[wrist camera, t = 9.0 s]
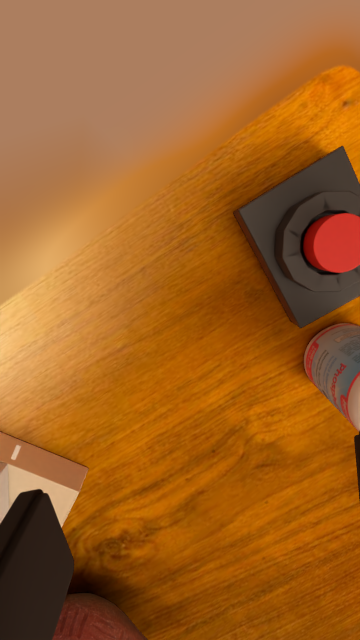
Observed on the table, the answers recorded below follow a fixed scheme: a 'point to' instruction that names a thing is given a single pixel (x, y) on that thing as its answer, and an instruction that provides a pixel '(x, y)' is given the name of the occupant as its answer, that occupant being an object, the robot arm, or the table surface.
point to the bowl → (93, 620)
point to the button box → (289, 231)
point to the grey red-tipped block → (4, 491)
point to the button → (334, 243)
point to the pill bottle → (337, 367)
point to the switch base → (41, 474)
